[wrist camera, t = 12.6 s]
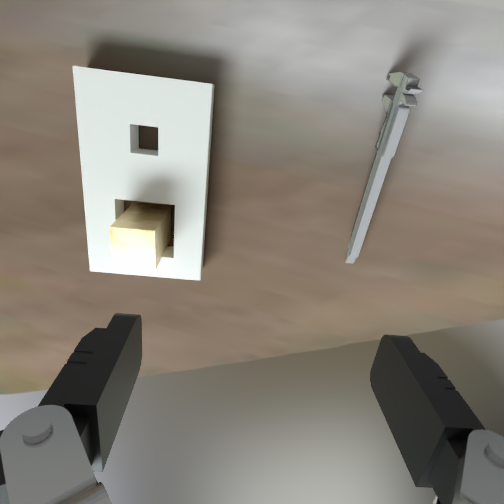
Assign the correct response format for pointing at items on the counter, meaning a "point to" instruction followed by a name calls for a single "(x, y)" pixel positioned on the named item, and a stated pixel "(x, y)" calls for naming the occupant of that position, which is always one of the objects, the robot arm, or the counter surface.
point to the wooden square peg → (140, 236)
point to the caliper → (384, 152)
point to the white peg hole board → (144, 160)
